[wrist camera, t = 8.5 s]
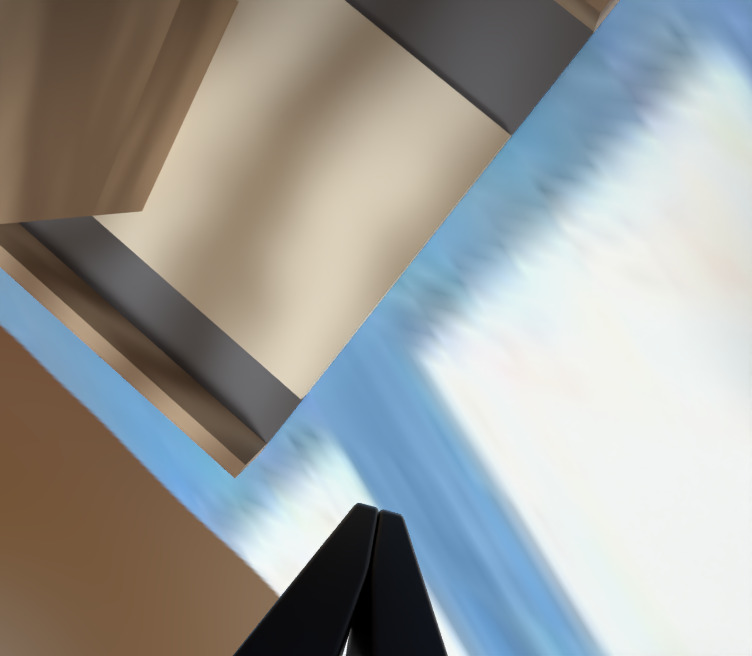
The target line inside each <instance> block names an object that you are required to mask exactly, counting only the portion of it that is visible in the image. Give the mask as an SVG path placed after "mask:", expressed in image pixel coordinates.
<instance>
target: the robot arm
mask: <svg viewBox="0 0 752 656" xmlns="http://www.w3.org/2000/svg"><path fill="white" fill-rule="evenodd" d="M348 636H349V638H348ZM347 639H348V644H347V652H346V656H448V655H447V652H446V649H445V646H444V643H443V639H442V636H441V633H440V630H439V627H438V624H437V621H436V617H435V614H434V611H433V608H432V605H431V602H430V599H429V596H428V592H427V589H426V586H425V583H424V580H423V577H422V574H421V570H420V567H419V564H418V561H417V558H416V555H415V552H414V549H413V545H412V542H411V539H410V536H409V533H408V530H407V527H406V523H405V520H404V518H403V516H402V515H401V514H398V513H394V512H391V511H387V510H381V511H380V512H379V511H378V509H377V508H376V507H373V506H369V505H366V504H362V503H357V504H355V505H354V507H353V508H352V509H351V510H350V511H349V513H348V514H347V515H346V516H345V518H344V519H343V520H342V521H341V523H340V524H339V525H338V526H337V528H336V529H335V530H334V531H333V532H332V534H331V535H330V536H329V537H328V539H327V540H326V541H325V542H324V544H323V545H322V546H321V547H320V549H319V550H318V551H317V552H316V553H315V555H314V556H313V557H312V558H311V560H310V561H309V562H308V563H307V565H306V566H305V567H304V568H303V570H302V571H301V572H300V573H299V575H298V576H297V577H296V578H295V579H294V581H293V582H292V583H291V584H290V586H289V587H288V588H287V589H286V591H285V592H284V593H283V594H282V596H281V597H280V598H279V599H278V601H277V602H276V603H275V604H274V606H273V607H272V608H271V609H270V610H269V612H268V613H267V614H266V615H265V617H264V618H263V619H262V620H261V622H260V623H259V624H258V625H257V626H256V628H255V629H254V630H253V631H252V633H251V634H250V635H249V636H248V638H247V639H246V640H245V641H244V643H243V644H242V645H241V646H240V647H239V649H238V650H237V651H236V653H235V654H234V655H233V656H342V655H343V652H344V648H345V645H346V642H347Z"/></svg>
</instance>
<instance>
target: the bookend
mask: <svg viewBox="0 0 752 656" xmlns="http://www.w3.org/2000/svg"><path fill="white" fill-rule="evenodd" d="M237 4H238V1H237V0H0V224H7V223H18V222H29V221H40V220H51V219H63V218H74V217H85V216H96V215H107V214H119V213H130V212H141V211H143V208H144V206H145V204H146V202H147V200H148V198H149V195H150V193H151V191H152V189H153V187H154V184H155V182H156V180H157V178H158V176H159V174H160V171H161V169H162V167H163V165H164V163H165V161H166V158H167V156H168V154H169V152H170V150H171V148H172V145H173V143H174V141H175V139H176V137H177V135H178V132H179V130H180V128H181V126H182V124H183V122H184V119H185V117H186V115H187V113H188V111H189V108H190V106H191V104H192V102H193V100H194V98H195V95H196V93H197V91H198V89H199V87H200V85H201V82H202V80H203V78H204V76H205V74H206V72H207V69H208V67H209V65H210V63H211V61H212V59H213V56H214V54H215V52H216V50H217V48H218V46H219V43H220V41H221V39H222V37H223V35H224V32H225V30H226V28H227V26H228V24H229V22H230V19H231V17H232V15H233V13H234V11H235V9H236V6H237Z"/></svg>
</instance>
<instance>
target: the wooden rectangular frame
mask: <svg viewBox="0 0 752 656" xmlns="http://www.w3.org/2000/svg"><path fill="white" fill-rule="evenodd" d="M237 1H238V4H237V6H236V9H235V11H234V13H233V15H232V17H231V19H230V22H229V24H228V26H227V28H226V30H225V32H224V35H223V37H222V39H221V41H220V43H219V46H218V48H217V50H216V52H215V54H214V56H213V59H212V61H211V63H210V65H209V67H208V69H207V72H206V74H205V76H204V78H203V80H202V82H201V85H200V87H199V89H198V91H197V93H196V95H195V98H194V100H193V102H192V104H191V106H190V108H189V111H188V113H187V115H186V117H185V119H184V122H183V124H182V126H181V128H180V130H179V132H178V135H177V137H176V139H175V141H174V143H173V145H172V148H171V150H170V152H169V154H168V156H167V158H166V161H165V163H164V165H163V167H162V169H161V171H160V174H159V176H158V178H157V180H156V182H155V184H154V187H153V189H152V191H151V193H150V195H149V198H148V200H147V202H146V204H145V206H144V208H143V211H141V212H130V213H119V214H107V215H96V216H85V217H74V218H63V219H51V220H40V221H29V222H18V223H7V224H0V267H1V268H2V269H3V270H4V271H5V272H6V273H7V274H9V275H10V276H11V277H12V278H13V279H14V280H15V281H16V282H17V283H19V284H20V285H21V286H22V287H23V288H24V289H25V290H26V291H27V292H29V293H30V294H31V295H32V296H33V297H34V298H35V299H36V300H37V301H39V302H40V303H41V304H42V305H43V306H44V307H45V308H46V309H47V310H49V311H50V312H51V313H52V314H53V315H54V316H55V317H56V318H57V319H59V320H60V321H61V322H62V323H63V324H64V325H65V326H66V327H67V328H69V329H70V330H71V331H72V332H73V333H74V334H75V335H76V336H77V337H79V338H80V339H81V340H82V341H83V342H84V343H85V344H86V345H87V346H89V347H90V348H91V349H92V350H93V351H94V352H95V353H96V354H97V355H99V356H100V357H101V358H102V359H103V360H104V361H105V362H106V363H107V364H109V365H110V366H111V367H112V368H113V369H114V370H115V371H116V372H117V373H119V374H120V375H121V376H122V377H123V378H124V379H125V380H126V381H127V382H129V383H130V384H131V385H132V386H133V387H134V388H135V389H136V390H137V391H139V392H140V393H141V394H142V395H143V396H144V397H145V398H146V399H147V400H149V401H150V402H151V403H152V404H153V405H154V406H155V407H156V408H157V409H158V410H160V411H161V412H162V413H163V414H164V415H165V416H166V417H167V418H168V419H170V420H171V421H172V422H173V423H174V424H175V425H176V426H177V427H178V428H180V429H181V430H182V431H183V432H184V433H185V434H186V435H187V436H188V437H190V438H191V439H192V440H193V441H194V442H195V443H196V444H197V445H198V446H200V447H201V448H202V449H203V450H204V451H205V452H206V453H207V454H208V455H210V456H211V457H212V458H213V459H214V460H215V461H216V462H217V463H218V464H220V465H221V466H222V467H223V468H224V469H225V470H226V471H227V472H228V473H230V474H231V475H232V476H233V477H234V478H236V477H237V476H238V475H239V474H240V473H241V472H242V471H243V470H244V469H245V468H246V467H247V466H248V465H249V464H250V463H251V462H252V461H253V460H254V459H255V458H256V457H257V456H258V455H259V454H260V453H261V451H262V450H263V449H264V448H265V446H266V445H267V444H268V443H269V441H270V440H271V439H272V438H273V436H274V435H275V434H276V433H277V431H278V430H279V429H280V427H281V426H282V425H283V424H284V422H285V421H286V420H287V419H288V417H289V416H290V415H291V414H292V412H293V411H294V410H295V409H296V407H297V406H298V405H299V404H300V402H301V401H302V400H303V398H304V397H305V396H306V395H307V393H308V392H309V391H310V390H311V388H312V387H313V386H314V385H315V383H316V382H317V381H318V380H319V378H320V377H321V376H322V375H323V373H324V372H325V371H326V370H327V368H328V367H329V366H330V364H331V363H332V362H333V361H334V359H335V358H336V357H337V356H338V354H339V353H340V352H341V351H342V349H343V348H344V347H345V346H346V344H347V343H348V342H349V341H350V339H351V338H352V337H353V335H354V334H355V333H356V332H357V330H358V329H359V328H360V327H361V325H362V324H363V323H364V322H365V320H366V319H367V318H368V317H369V315H370V314H371V313H372V312H373V310H374V309H375V308H376V307H377V305H378V304H379V303H380V301H381V300H382V299H383V298H384V296H385V295H386V294H387V293H388V291H389V290H390V289H391V288H392V286H393V285H394V284H395V283H396V281H397V280H398V279H399V278H400V276H401V275H402V274H403V272H404V271H405V270H406V269H407V267H408V266H409V265H410V264H411V262H412V261H413V260H414V259H415V257H416V256H417V255H418V254H419V252H420V251H421V250H422V249H423V247H424V246H425V245H426V244H427V242H428V241H429V240H430V238H431V237H432V236H433V235H434V233H435V232H436V231H437V230H438V228H439V227H440V226H441V225H442V223H443V222H444V221H445V220H446V218H447V217H448V216H449V215H450V213H451V212H452V211H453V209H454V208H455V207H456V206H457V204H458V203H459V202H460V201H461V199H462V198H463V197H464V196H465V194H466V193H467V192H468V191H469V189H470V188H471V187H472V186H473V184H474V183H475V182H476V181H477V179H478V178H479V177H480V175H481V174H482V173H483V172H484V170H485V169H486V168H487V167H488V165H489V164H490V163H491V162H492V160H493V159H494V158H495V157H496V155H497V154H498V153H499V152H500V150H501V149H502V148H503V146H504V145H505V144H506V143H507V141H508V140H509V139H510V138H511V136H512V135H513V134H514V133H515V131H516V130H517V129H518V128H519V126H520V125H521V124H522V123H523V121H524V120H525V119H526V118H527V116H528V115H529V114H530V112H531V111H532V110H533V109H534V107H535V106H536V105H537V104H538V102H539V101H540V100H541V99H542V97H543V96H544V95H545V94H546V92H547V91H548V90H549V89H550V87H551V86H552V85H553V83H554V82H555V81H556V80H557V78H558V77H559V76H560V75H561V73H562V72H563V71H564V70H565V68H566V67H567V66H568V65H569V63H570V62H571V61H572V60H573V58H574V57H575V56H576V55H577V53H578V52H579V51H580V49H581V48H582V47H583V46H584V44H585V43H586V42H587V41H588V39H589V38H590V37H591V36H592V34H593V33H594V32H595V31H596V29H597V28H598V27H599V26H600V24H601V23H602V22H603V20H604V19H605V18H606V17H607V15H608V14H609V13H610V12H611V10H612V9H613V8H614V7H615V5H616V4H617V3H618V2H619V0H237Z"/></svg>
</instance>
